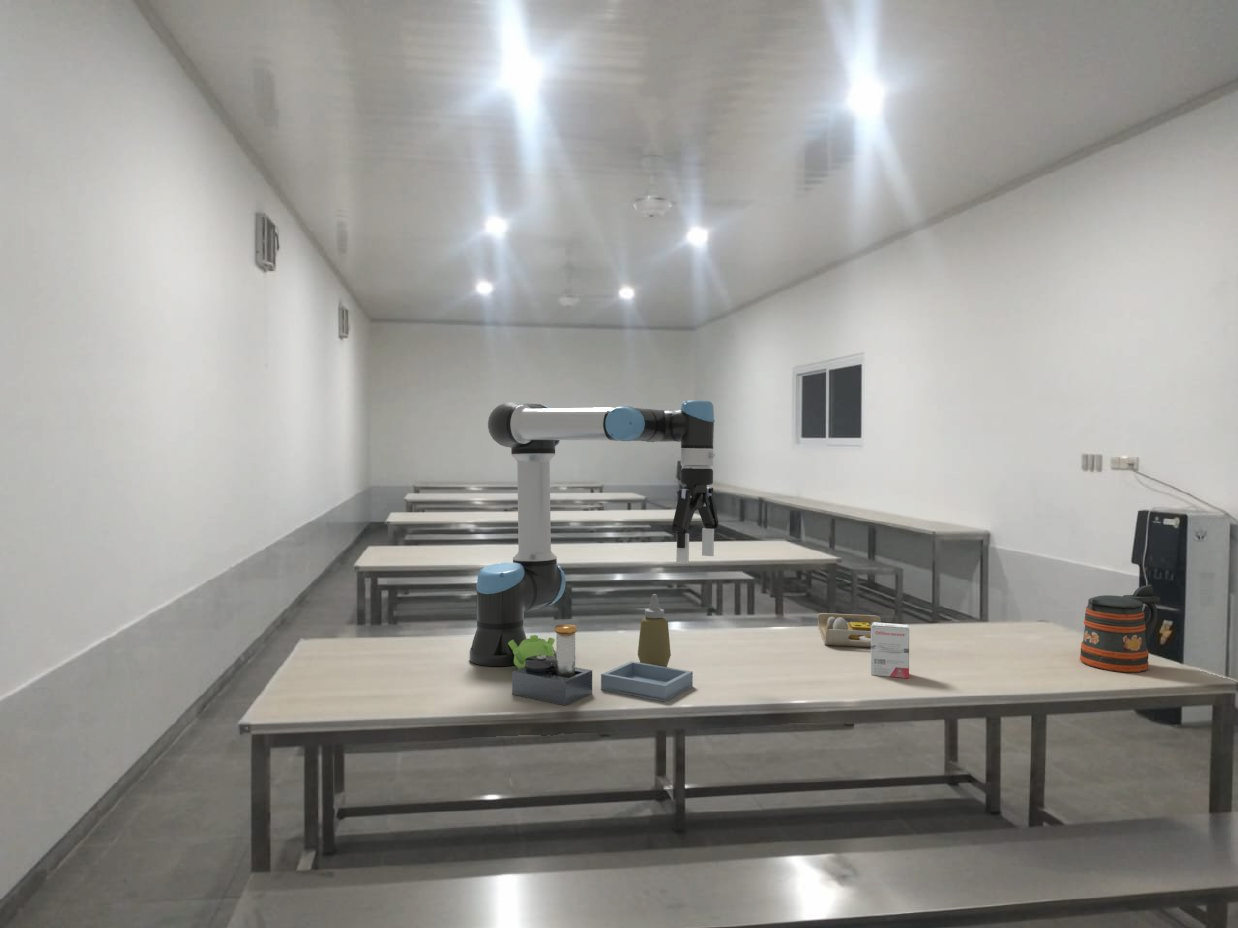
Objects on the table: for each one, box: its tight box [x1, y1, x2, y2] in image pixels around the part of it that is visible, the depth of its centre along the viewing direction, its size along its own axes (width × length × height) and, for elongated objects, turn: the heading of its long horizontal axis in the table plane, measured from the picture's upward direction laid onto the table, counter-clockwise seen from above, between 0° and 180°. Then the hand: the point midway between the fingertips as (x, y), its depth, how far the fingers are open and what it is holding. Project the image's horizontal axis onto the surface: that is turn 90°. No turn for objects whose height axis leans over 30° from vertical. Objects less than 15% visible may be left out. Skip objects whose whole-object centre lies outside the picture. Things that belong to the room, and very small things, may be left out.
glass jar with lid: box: [554, 623, 578, 678], centre depth 170 cm, size 5×5×15 cm
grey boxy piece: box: [511, 655, 593, 706], centre depth 172 cm, size 14×10×8 cm
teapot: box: [508, 634, 556, 669], centre depth 189 cm, size 11×12×8 cm
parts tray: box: [600, 660, 694, 702], centre depth 177 cm, size 16×13×3 cm
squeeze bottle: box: [637, 593, 672, 667], centre depth 192 cm, size 8×8×18 cm
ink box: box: [870, 622, 910, 679], centre depth 189 cm, size 9×5×12 cm, turn 71°
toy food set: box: [817, 612, 882, 648], centre depth 225 cm, size 25×18×8 cm
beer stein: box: [1079, 584, 1161, 674], centre depth 199 cm, size 19×15×20 cm
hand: (695, 559), depth 185 cm, fingers open, 13 cm apart
